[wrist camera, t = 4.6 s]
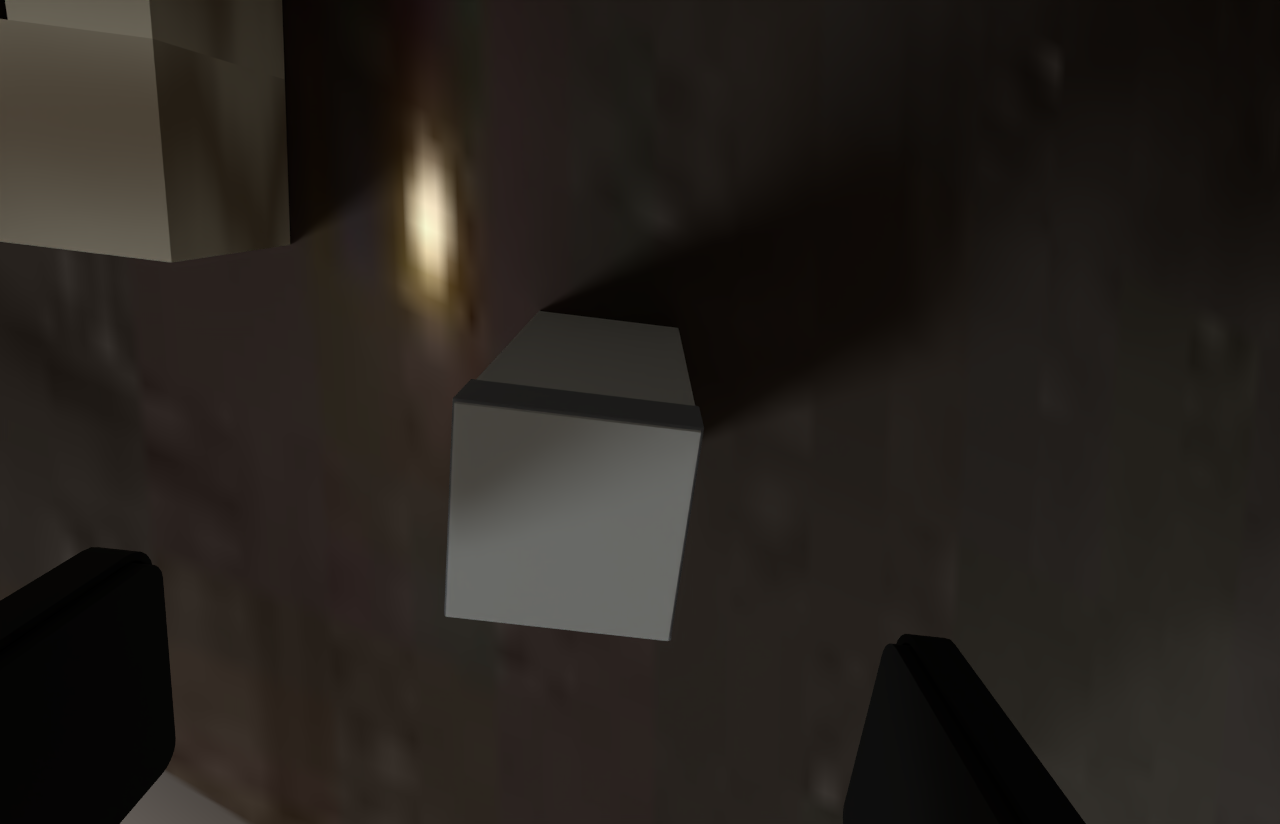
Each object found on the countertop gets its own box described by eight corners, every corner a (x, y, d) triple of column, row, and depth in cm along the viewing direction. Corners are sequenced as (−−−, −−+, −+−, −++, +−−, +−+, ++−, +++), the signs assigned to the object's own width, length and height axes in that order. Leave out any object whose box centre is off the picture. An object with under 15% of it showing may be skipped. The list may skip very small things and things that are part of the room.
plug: (537, 309, 20) (451, 400, 11) (680, 326, 20) (704, 429, 11) (527, 443, 21) (443, 618, 12) (661, 458, 21) (670, 643, 12)
